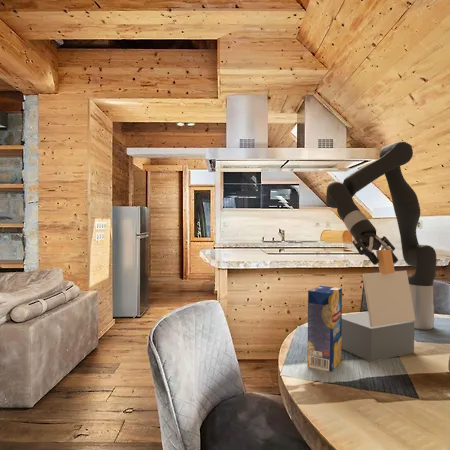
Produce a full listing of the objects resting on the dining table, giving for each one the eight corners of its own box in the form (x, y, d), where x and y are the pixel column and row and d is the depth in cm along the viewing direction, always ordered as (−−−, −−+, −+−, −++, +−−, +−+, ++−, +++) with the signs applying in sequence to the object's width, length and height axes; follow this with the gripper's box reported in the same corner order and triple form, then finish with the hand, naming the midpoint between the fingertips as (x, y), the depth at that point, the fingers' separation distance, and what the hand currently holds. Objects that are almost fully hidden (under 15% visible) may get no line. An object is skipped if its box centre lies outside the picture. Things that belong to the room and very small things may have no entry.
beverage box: (341, 359, 110) (342, 287, 110) (330, 372, 101) (331, 293, 101) (319, 355, 114) (320, 285, 114) (307, 366, 105) (308, 291, 104)
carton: (374, 338, 131) (374, 310, 131) (414, 352, 117) (414, 321, 117) (333, 345, 123) (334, 316, 123) (371, 361, 109) (371, 328, 109)
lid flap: (400, 249, 121) (406, 248, 119) (413, 320, 117) (419, 320, 115) (358, 251, 113) (364, 250, 111) (370, 327, 109) (376, 327, 107)
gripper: (349, 218, 120) (377, 255, 110) (380, 218, 126) (409, 254, 116) (338, 233, 125) (363, 271, 115) (368, 233, 131) (394, 268, 121)
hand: (386, 262), depth 115 cm, fingers open, 8 cm apart
